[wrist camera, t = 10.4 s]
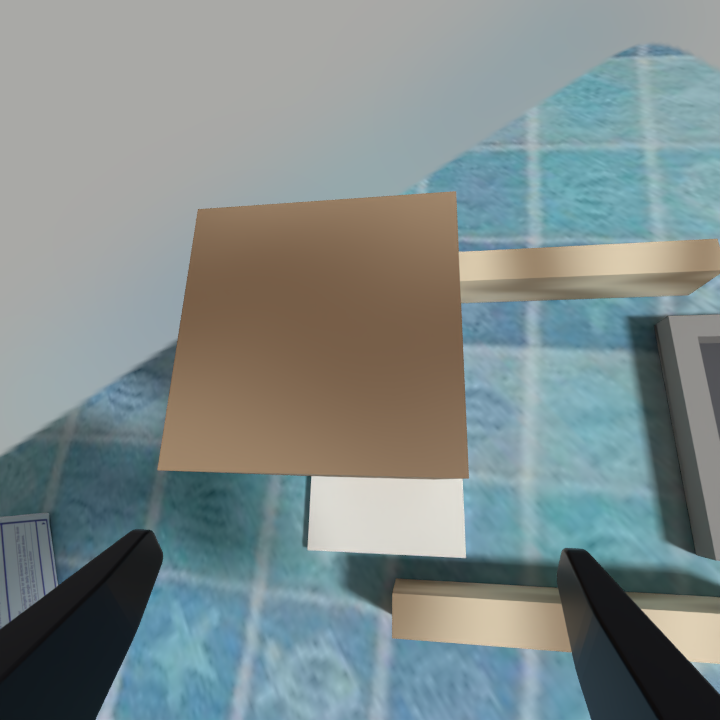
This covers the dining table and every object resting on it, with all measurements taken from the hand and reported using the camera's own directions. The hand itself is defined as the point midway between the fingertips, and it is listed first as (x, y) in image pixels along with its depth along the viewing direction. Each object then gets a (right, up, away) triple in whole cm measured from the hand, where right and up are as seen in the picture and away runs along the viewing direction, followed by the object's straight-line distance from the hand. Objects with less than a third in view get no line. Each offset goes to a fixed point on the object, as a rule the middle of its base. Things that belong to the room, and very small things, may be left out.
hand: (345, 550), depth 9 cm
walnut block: (+2, +1, +11) cm, 11 cm away
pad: (+2, +1, +11) cm, 11 cm away
